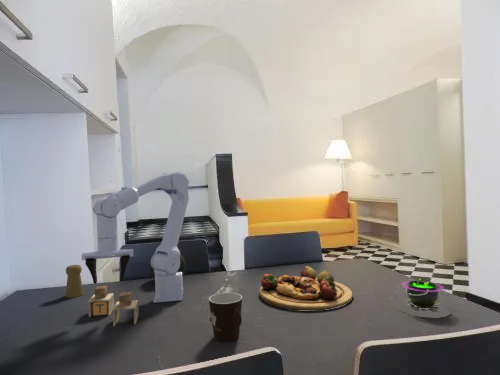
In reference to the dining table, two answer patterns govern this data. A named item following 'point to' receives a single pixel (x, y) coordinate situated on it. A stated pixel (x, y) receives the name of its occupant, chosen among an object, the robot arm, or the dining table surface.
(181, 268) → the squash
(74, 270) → the cork
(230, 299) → the coffee mug
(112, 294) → the cover
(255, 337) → the dining table surface
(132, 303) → the cover
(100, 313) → the orange cube
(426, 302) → the toy cauldron
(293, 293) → the wooden plate with food
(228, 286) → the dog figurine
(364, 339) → the dining table surface
